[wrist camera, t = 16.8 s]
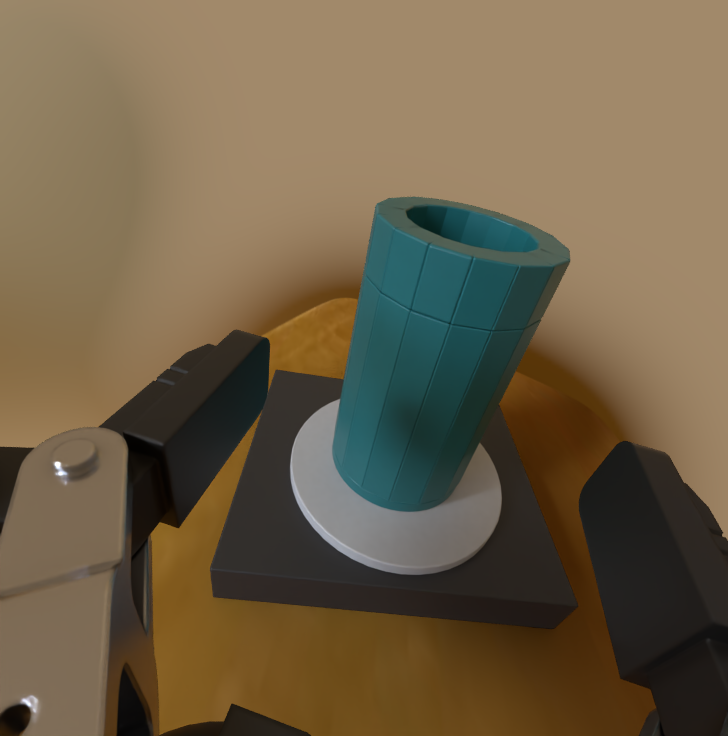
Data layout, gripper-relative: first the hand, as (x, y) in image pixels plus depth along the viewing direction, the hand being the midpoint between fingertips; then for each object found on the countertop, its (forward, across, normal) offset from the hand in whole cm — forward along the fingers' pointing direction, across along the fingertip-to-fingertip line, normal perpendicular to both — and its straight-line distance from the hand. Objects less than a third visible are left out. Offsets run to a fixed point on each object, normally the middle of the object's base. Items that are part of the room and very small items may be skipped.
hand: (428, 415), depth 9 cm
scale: (+6, 0, -11) cm, 13 cm away
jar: (+6, 0, -8) cm, 10 cm away
